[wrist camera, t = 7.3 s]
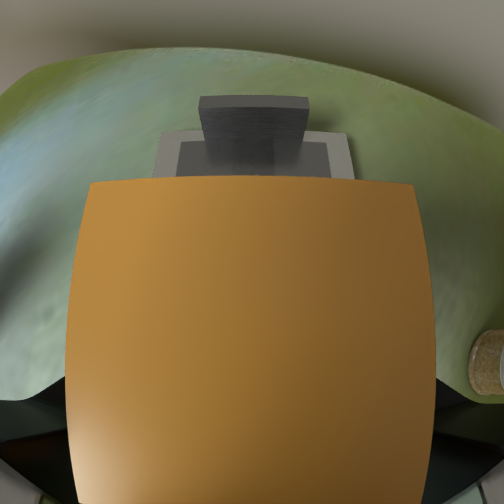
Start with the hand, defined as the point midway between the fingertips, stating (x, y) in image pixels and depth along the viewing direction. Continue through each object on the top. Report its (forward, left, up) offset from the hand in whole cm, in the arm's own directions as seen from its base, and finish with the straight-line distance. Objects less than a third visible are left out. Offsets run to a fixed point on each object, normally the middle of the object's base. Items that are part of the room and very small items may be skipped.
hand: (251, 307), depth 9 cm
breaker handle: (-1, +1, -5) cm, 5 cm away
